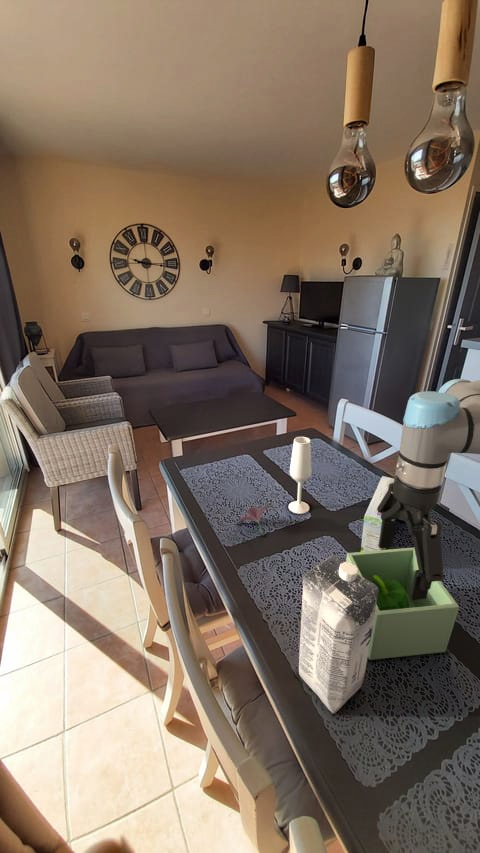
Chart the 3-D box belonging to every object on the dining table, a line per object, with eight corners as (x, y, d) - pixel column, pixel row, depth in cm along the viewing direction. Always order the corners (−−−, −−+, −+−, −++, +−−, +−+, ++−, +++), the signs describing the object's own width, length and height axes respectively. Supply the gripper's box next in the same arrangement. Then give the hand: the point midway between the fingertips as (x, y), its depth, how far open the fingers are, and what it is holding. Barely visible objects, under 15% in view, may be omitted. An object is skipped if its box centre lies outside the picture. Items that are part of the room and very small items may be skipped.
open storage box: (406, 588, 86) (414, 547, 81) (445, 652, 72) (459, 606, 66) (342, 594, 85) (346, 553, 80) (369, 660, 71) (377, 614, 65)
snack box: (375, 517, 110) (381, 474, 104) (394, 522, 108) (402, 479, 101) (357, 562, 94) (363, 515, 88) (379, 570, 91) (388, 522, 85)
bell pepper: (419, 630, 73) (411, 595, 69) (378, 638, 74) (369, 604, 71) (402, 595, 81) (395, 563, 77) (366, 603, 82) (357, 571, 78)
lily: (280, 521, 111) (269, 492, 111) (282, 533, 99) (270, 501, 99) (243, 534, 112) (233, 505, 112) (241, 547, 100) (229, 515, 100)
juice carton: (334, 725, 61) (349, 612, 50) (291, 673, 69) (296, 566, 58) (367, 691, 65) (387, 581, 55) (323, 646, 73) (333, 542, 62)
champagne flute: (286, 511, 114) (288, 443, 104) (290, 499, 120) (292, 434, 110) (308, 515, 112) (312, 446, 102) (310, 502, 118) (314, 436, 108)
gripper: (368, 448, 75) (358, 530, 83) (438, 526, 52) (414, 627, 61) (403, 446, 75) (389, 527, 84) (487, 522, 53) (457, 623, 61)
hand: (400, 570), depth 72 cm, fingers open, 13 cm apart
